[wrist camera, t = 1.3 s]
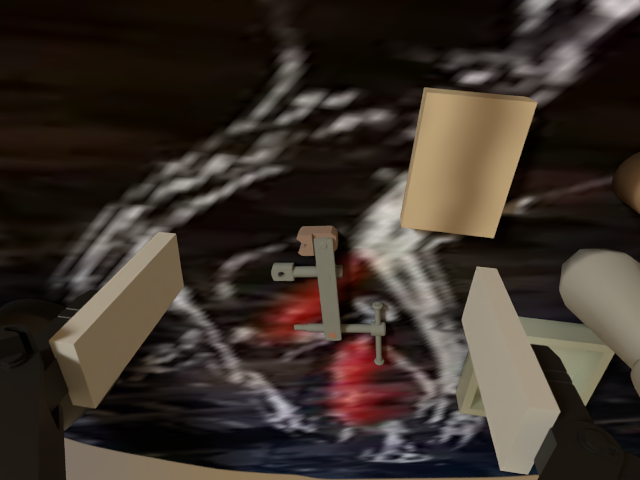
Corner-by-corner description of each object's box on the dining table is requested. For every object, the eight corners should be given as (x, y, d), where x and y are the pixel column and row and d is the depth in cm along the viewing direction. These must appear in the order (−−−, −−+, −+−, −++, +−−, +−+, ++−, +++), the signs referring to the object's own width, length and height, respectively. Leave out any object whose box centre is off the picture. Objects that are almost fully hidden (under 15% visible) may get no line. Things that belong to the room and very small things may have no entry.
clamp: (262, 237, 34) (383, 234, 32) (268, 224, 36) (383, 222, 34) (286, 367, 41) (386, 370, 39) (290, 351, 43) (386, 354, 41)
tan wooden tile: (400, 213, 34) (401, 227, 31) (423, 86, 29) (426, 92, 27) (486, 224, 33) (493, 238, 31) (525, 95, 28) (537, 102, 26)
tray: (455, 392, 42) (459, 413, 40) (479, 312, 37) (486, 331, 35) (563, 406, 41) (573, 428, 39) (603, 326, 36) (618, 346, 34)
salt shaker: (533, 274, 34) (608, 402, 23) (590, 224, 31) (707, 343, 20) (585, 307, 35) (682, 447, 24) (645, 262, 32) (786, 396, 21)
